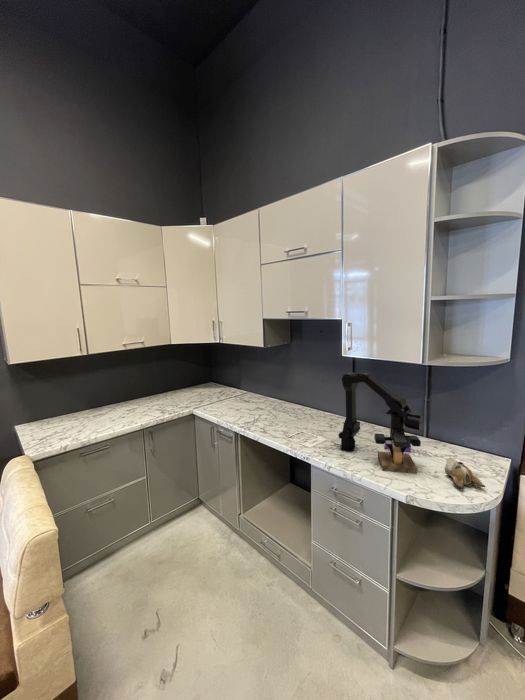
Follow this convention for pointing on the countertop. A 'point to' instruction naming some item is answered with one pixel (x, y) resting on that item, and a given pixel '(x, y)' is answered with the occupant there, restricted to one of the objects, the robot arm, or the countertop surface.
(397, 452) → the tan wooden block
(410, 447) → the bracket
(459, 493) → the countertop surface
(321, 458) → the countertop surface
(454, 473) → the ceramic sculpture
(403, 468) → the brown slotted square board
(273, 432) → the countertop surface
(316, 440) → the photo frame
